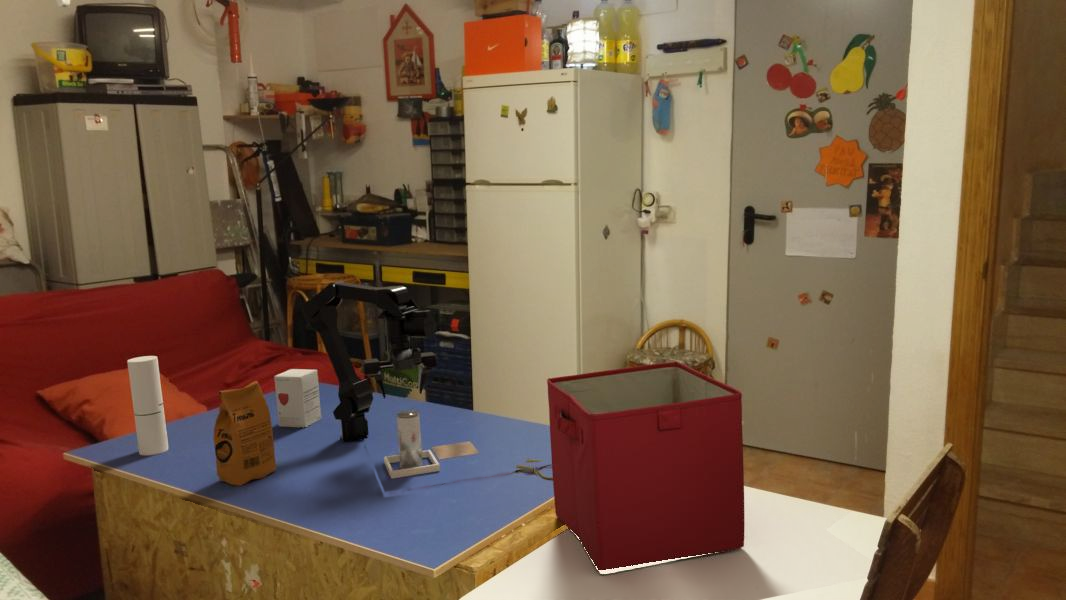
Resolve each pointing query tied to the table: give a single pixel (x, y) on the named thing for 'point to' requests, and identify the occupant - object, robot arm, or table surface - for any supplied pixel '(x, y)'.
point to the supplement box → (297, 398)
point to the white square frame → (411, 471)
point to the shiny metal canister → (409, 439)
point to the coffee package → (243, 436)
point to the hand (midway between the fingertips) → (402, 395)
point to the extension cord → (531, 469)
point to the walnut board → (454, 450)
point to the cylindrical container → (148, 405)
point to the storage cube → (647, 463)
